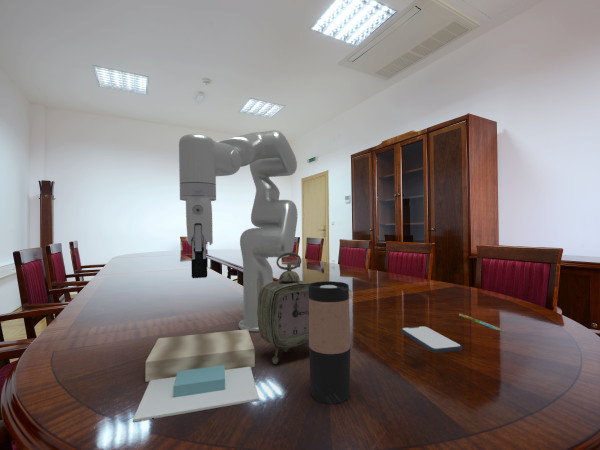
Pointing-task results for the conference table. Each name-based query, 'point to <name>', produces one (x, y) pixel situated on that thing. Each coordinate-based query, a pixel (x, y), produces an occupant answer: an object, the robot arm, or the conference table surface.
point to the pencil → (481, 322)
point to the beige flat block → (200, 353)
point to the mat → (196, 396)
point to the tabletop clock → (284, 310)
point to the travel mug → (329, 341)
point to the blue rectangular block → (199, 381)
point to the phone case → (431, 339)
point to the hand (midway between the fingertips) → (199, 277)
